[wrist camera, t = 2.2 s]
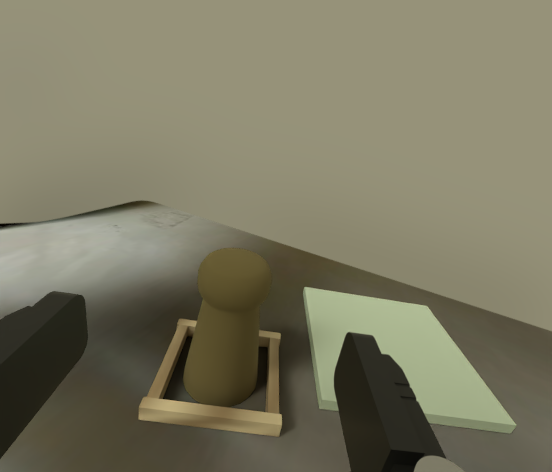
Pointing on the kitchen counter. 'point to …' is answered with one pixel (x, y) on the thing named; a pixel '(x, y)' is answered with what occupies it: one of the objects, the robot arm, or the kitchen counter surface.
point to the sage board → (402, 357)
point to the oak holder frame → (208, 414)
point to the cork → (227, 327)
